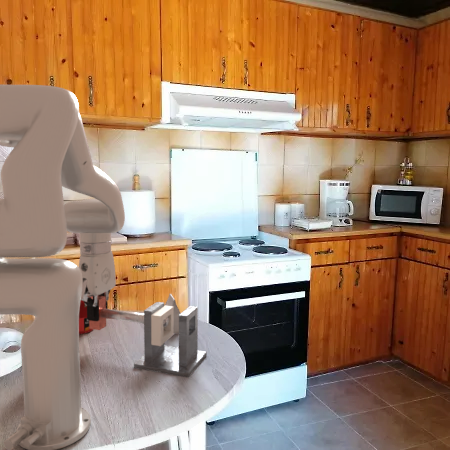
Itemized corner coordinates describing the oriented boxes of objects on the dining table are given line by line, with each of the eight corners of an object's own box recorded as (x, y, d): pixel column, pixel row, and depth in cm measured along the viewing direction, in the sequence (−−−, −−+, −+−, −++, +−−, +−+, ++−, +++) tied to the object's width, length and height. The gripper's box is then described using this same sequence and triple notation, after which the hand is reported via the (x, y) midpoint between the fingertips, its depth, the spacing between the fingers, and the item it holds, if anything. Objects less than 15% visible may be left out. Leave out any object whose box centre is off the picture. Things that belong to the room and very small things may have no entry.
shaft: (164, 339, 104) (163, 307, 102) (89, 328, 110) (88, 298, 109) (169, 335, 106) (169, 304, 105) (96, 324, 113) (95, 295, 112)
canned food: (90, 334, 121) (88, 297, 120) (61, 334, 121) (60, 296, 120) (98, 324, 129) (97, 289, 127) (71, 324, 129) (70, 288, 127)
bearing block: (188, 377, 98) (188, 320, 96) (133, 367, 102) (133, 313, 100) (206, 355, 109) (206, 304, 107) (156, 347, 113) (156, 298, 111)
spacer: (160, 346, 102) (160, 316, 101) (151, 344, 102) (151, 315, 101) (173, 334, 109) (173, 306, 108) (164, 333, 109) (164, 305, 108)
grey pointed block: (167, 334, 122) (167, 300, 121) (164, 326, 129) (163, 293, 127) (180, 333, 123) (180, 299, 122) (176, 324, 130) (176, 292, 128)
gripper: (88, 255, 99) (90, 331, 102) (125, 243, 115) (127, 309, 117) (61, 252, 101) (64, 327, 104) (101, 241, 117) (103, 306, 119)
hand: (97, 317), depth 110 cm, fingers closed on shaft, 3 cm apart
